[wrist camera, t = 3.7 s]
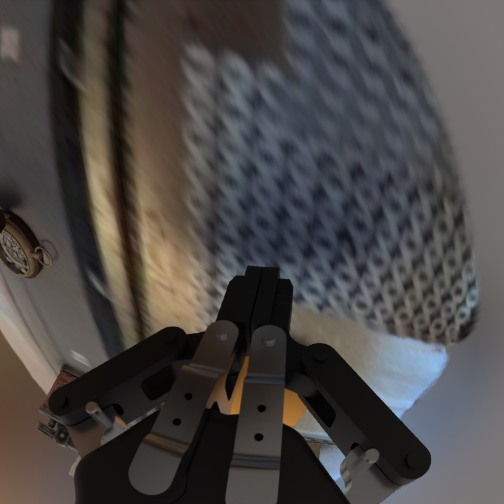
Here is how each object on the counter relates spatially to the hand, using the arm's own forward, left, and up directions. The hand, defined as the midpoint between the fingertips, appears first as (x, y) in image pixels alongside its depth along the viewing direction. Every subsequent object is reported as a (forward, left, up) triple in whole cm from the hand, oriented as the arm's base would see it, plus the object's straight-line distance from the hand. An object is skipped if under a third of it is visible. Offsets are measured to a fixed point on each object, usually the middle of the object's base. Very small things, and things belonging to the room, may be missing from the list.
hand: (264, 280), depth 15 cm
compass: (0, -19, -2) cm, 19 cm away
